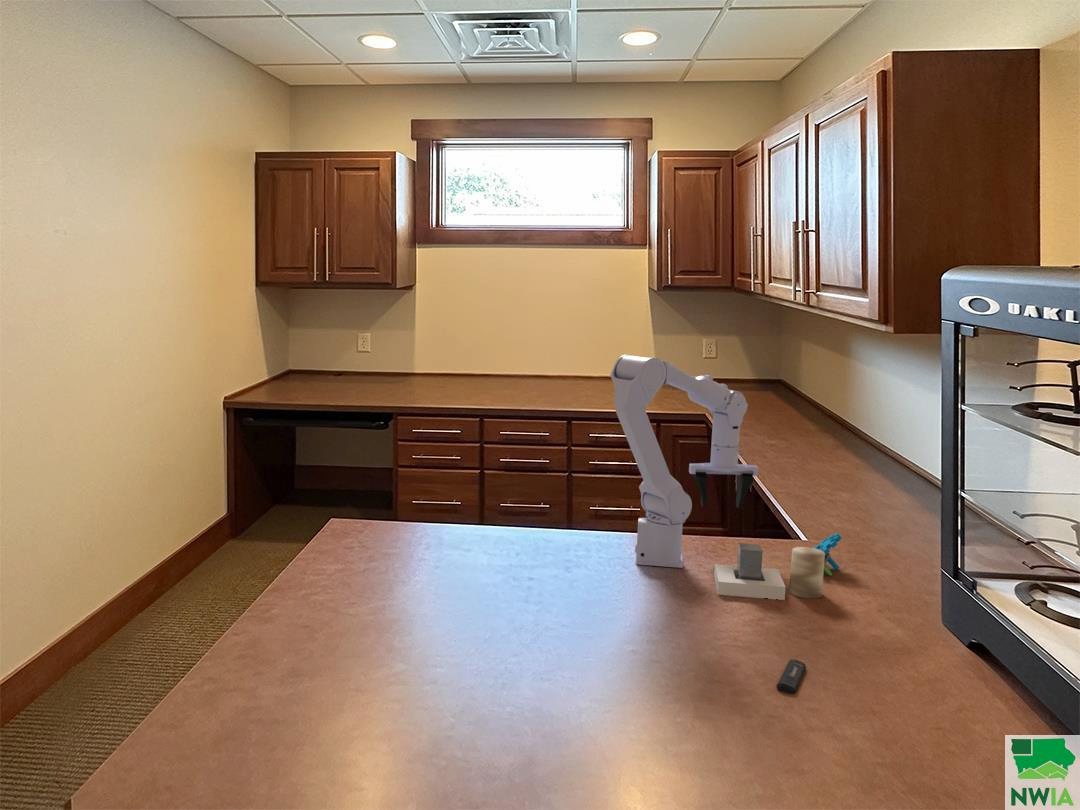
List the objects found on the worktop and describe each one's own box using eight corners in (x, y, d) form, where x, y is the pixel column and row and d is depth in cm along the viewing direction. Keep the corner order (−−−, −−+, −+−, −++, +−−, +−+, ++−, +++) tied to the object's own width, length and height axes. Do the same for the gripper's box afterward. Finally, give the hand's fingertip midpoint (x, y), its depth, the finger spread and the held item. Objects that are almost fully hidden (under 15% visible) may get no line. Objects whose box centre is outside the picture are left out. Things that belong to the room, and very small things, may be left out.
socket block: (717, 594, 145) (718, 581, 145) (714, 576, 155) (714, 564, 154) (784, 600, 143) (785, 587, 143) (776, 581, 153) (777, 569, 153)
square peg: (738, 590, 148) (740, 549, 147) (736, 583, 151) (738, 543, 150) (759, 592, 147) (762, 551, 146) (757, 584, 151) (760, 544, 150)
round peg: (791, 597, 145) (794, 555, 144) (786, 586, 151) (789, 545, 150) (824, 599, 144) (827, 557, 143) (818, 588, 150) (821, 548, 149)
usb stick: (794, 698, 108) (795, 687, 108) (775, 693, 109) (775, 682, 109) (806, 670, 116) (807, 661, 116) (788, 666, 117) (789, 656, 117)
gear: (804, 549, 169) (840, 524, 164) (823, 570, 168) (860, 546, 163) (792, 570, 160) (830, 544, 154) (812, 593, 159) (852, 568, 153)
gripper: (695, 447, 164) (691, 510, 166) (764, 449, 164) (759, 512, 166) (688, 441, 171) (685, 502, 173) (754, 443, 171) (750, 504, 173)
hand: (721, 506), depth 170 cm, fingers open, 7 cm apart
